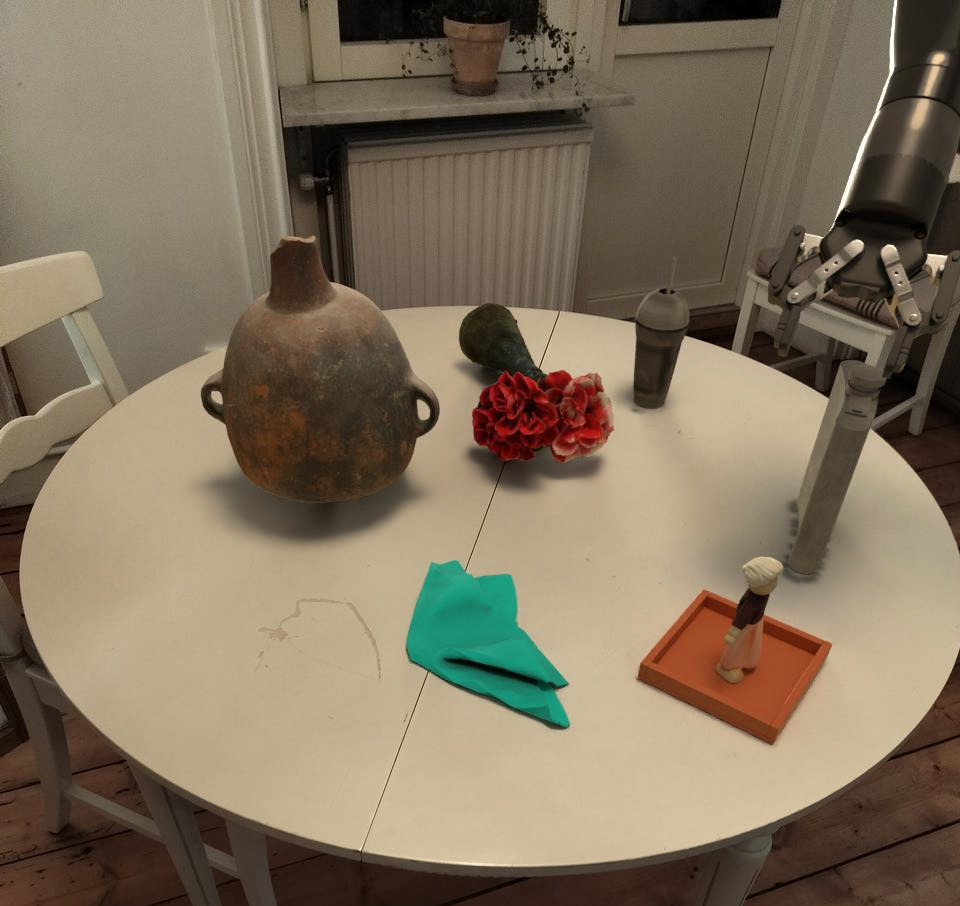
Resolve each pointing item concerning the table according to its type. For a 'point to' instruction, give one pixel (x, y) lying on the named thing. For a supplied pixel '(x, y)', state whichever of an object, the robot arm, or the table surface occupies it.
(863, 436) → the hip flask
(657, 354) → the beverage cup
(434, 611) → the cloth
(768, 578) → the grandmother figurine
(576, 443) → the carnation
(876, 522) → the table surface
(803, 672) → the figure tray
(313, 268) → the jug
